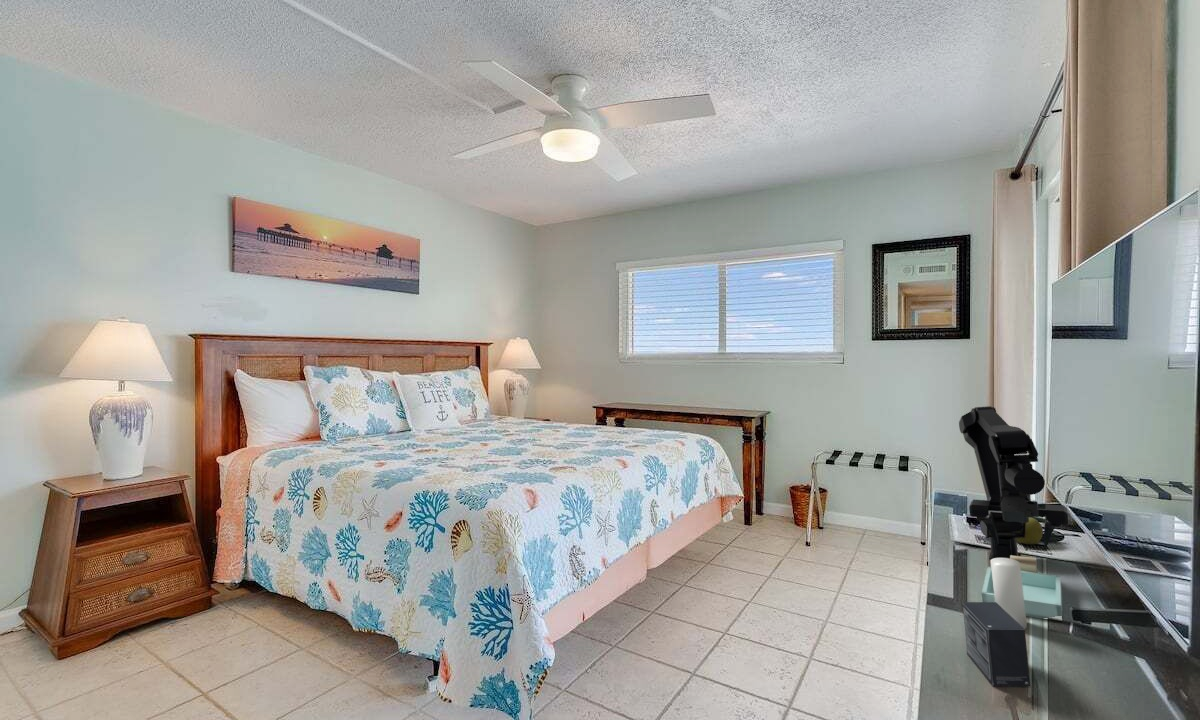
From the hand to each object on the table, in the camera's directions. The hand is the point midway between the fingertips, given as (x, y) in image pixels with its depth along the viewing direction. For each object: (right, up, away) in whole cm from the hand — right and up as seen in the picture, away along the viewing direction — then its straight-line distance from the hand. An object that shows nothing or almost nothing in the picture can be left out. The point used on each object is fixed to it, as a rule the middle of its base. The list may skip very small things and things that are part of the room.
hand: (1020, 546), depth 133 cm
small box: (-28, -13, -31) cm, 43 cm away
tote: (-6, -9, -8) cm, 14 cm away
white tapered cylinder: (-15, -11, -17) cm, 25 cm away
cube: (+1, -8, 0) cm, 8 cm away
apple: (+17, -6, +20) cm, 27 cm away
